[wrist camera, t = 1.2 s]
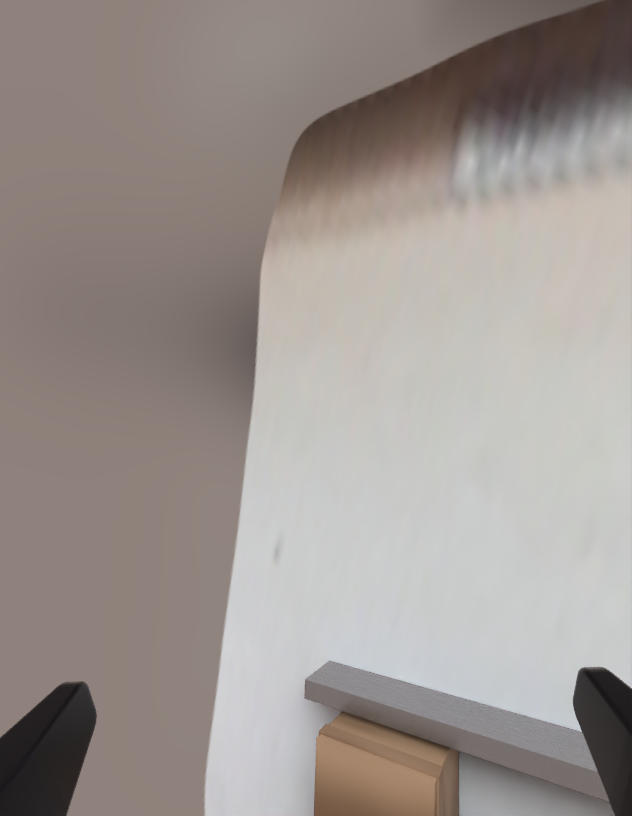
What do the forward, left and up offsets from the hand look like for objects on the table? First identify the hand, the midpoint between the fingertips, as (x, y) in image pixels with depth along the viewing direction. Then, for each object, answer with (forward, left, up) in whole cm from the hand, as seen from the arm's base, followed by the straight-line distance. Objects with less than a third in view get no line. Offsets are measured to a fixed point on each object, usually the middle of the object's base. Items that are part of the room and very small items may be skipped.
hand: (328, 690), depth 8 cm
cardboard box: (-13, +5, -19) cm, 23 cm away
